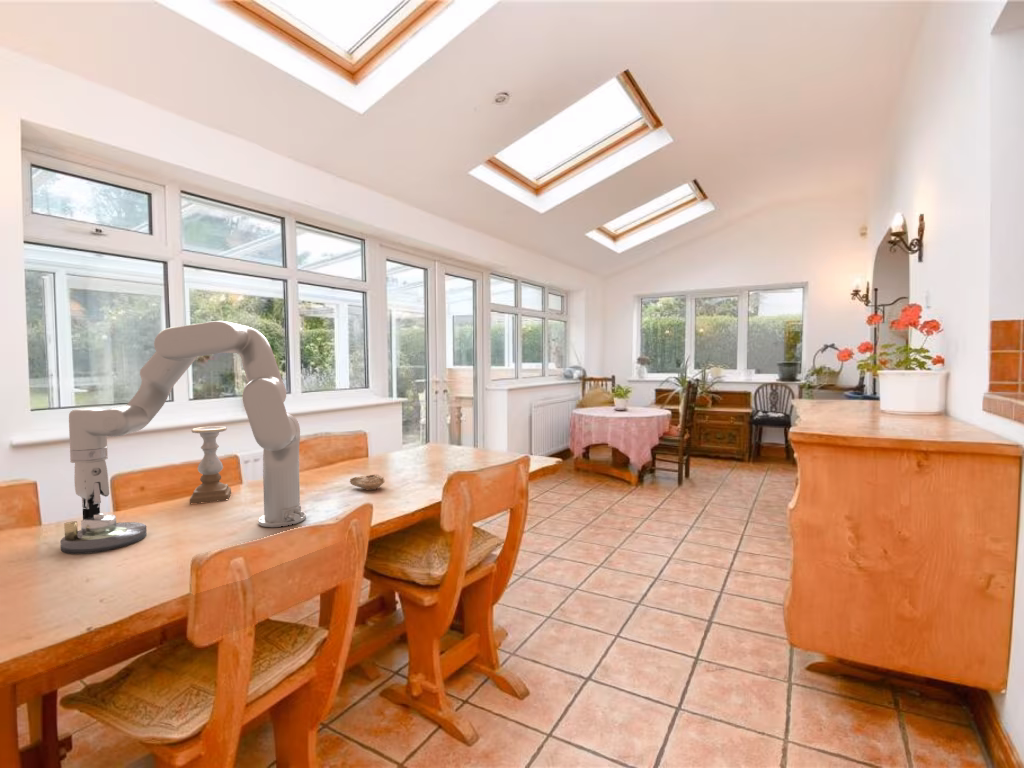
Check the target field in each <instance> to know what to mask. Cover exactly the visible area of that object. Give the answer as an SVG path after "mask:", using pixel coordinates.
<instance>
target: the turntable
mask: <svg viewBox="0 0 1024 768" xmlns="http://www.w3.org/2000/svg"><path fill="white" fill-rule="evenodd" d="M63 525H64V527H63V528H64V536H63V537H62V538H61V539H60V551H61V552H63V553H65V554H72V555H81V554H92V553H93V554H94V553H101V552H105V551H110V550H115V549H119V548H122V547H126V546H130V545H132V544H135V543H137V542H139V541H141V540H142V539H145V537H147V525H146V524H145V523H142V522H137V521H136V522H134V521H133V522H132V521H131V522H130V521H129V522H128V521H127V522H125V521H124V522H116V529H114V530H112V531H109V532H105V533H100V534H93V535H84V534H82V531H81V529H80V530H78V521H76V520H73V521H68V522H67V521H66V522H65V523H63Z"/></svg>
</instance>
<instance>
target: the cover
mask: <svg viewBox="0 0 1024 768" xmlns="http://www.w3.org/2000/svg"><path fill="white" fill-rule="evenodd" d="M80 522H81V523H80V525H81V526H80V530H81V531H82V534H84V535H93V534H100V533H105V532H109V531H112V530H114V529H116V523H117V515H116V514H104V513H103V512H100V513H98V514H94V516H93V517H89V518H86V519H84V520H83V519H82V520H80Z"/></svg>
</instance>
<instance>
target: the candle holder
mask: <svg viewBox="0 0 1024 768" xmlns="http://www.w3.org/2000/svg"><path fill="white" fill-rule="evenodd" d="M227 430H228V428H227V426H221V425H220V426H218V425H216V426H214V425H213V426H212V425H211V426H200V427H196V428H195V427H194V428H192V429H191V430H190V432H191V433H192V434H193V433H194V434H199V435H200V437H201V439H202V441H203V443H202V445H201V446H200V449H201V450H202V452H203V457H202V458H201V460H200V463H198V466H197V471H198V472H199V473H200V474H202V475H201V476H200V482H201V484H200V485H198V486H196V488H195V489H194V490H193V492H192V494H191V496H190V497H189V504H190V505H192V504H191V503H197V504H202V503H201V502H207V503H211V502H210V501H217V500H226V499H228V500H229V499H230V497H231V495H232V487H230V486H229V484H228V483H223V482H221V481H220V480H222V476H221V474H220V472H221V471H222V470H223V469H224V465H223V462H222V461H221V459H220V458H219V457H218V455H217V450H218V448H219V447H220V446H219V445H218V443H217V441H216V440H217V437H218V436H219V435H220V433H222V432H226V431H227ZM230 494H231V495H230ZM229 496H230V497H229ZM226 501H227V500H226ZM217 502H218V501H217Z"/></svg>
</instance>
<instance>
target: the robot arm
mask: <svg viewBox="0 0 1024 768" xmlns="http://www.w3.org/2000/svg"><path fill="white" fill-rule="evenodd" d="M153 346H154V350H155V352H154V353H153V354H152V356H151V357H150V358H149V359H148V360H147V362H146V363H144V365H143V366H142V367H141V369H140V370H139V376H140V378H141V384H140V386H139V388H138V391H137V392H136V393H135V394H134V396H133V397H132V398H131V399H130V400H129V401H128V402H127V404H126V405H125V406H119V407H114V408H108V409H103V408H99V407H85V408H76V409H72V410H71V411H69V412H68V413H69V414H68V431H69V433H68V435H69V454H70V455H69V456H70V463H72V464H74V491H75V494H76V495H77V496H79V497H80V498H81V507H82V520H84V519H86V518H89V517H93V516H94V514H98V513H101V508H100V507H101V503H102V498H101V496H103V497H105V498H106V497H108V496H109V495H110V485H109V473H108V468H107V462H106V460H108V457H109V456H108V437H114V438H116V437H117V438H118V437H122V436H125V435H128V434H132V433H135V432H139V431H141V430H143V429H144V428H146V427H147V426H148V425H149V424H150V423H151V422H152V421H153V419H154V418H155V416H156V415H157V414H158V413H159V412H160V410H161V409H162V408H163V407H164V405H165V403H166V402H167V400H168V397H169V396H170V394H171V392H172V389H173V387H174V386H175V384H176V383H178V381H179V380H180V379H181V377H182V376H183V375H184V373H186V372H187V370H188V369H189V368H190V367H191V365H192V364H193V363H194V361H196V359H197V358H198V357H202V356H209V355H216V354H238V355H239V356H240V359H241V362H242V367H243V371H244V373H245V375H246V380H247V384H246V385H245V387H244V388H243V391H242V403H243V407H244V409H245V413H246V416H247V419H248V423H249V425H250V428H251V431H252V435H253V437H254V439H255V442H256V443H257V444H258V446H259V447H261V448H262V450H263V451H262V452H263V454H262V472H263V473H262V476H263V482H262V483H263V515H261V516H260V517H259V518H258V520H257V522H258V525H259V526H261V527H264V528H265V527H266V528H282V527H281V526H283V527H287V526H288V525H289V526H292V524H293V525H295V524H299V523H301V522H303V521H305V519H306V518H307V513H306V512H304V511H302V505H301V494H300V493H301V492H300V441H301V440H300V439H301V429H300V428H301V427H300V424H299V421H298V420H297V418H296V417H295V416H294V415H293V414H290V413H288V412H287V410H286V407H285V403H284V402H285V401H286V400H287V399H286V398H287V389H286V386H285V384H284V381H283V378H282V375H281V372H280V369H279V365H278V363H277V360H276V358H275V354H274V352H273V349H272V346H271V344H270V342H269V340H268V339H267V338H266V337H265V335H263V333H261V332H260V331H259V330H257V329H255V328H253V327H250V326H248V325H243V324H239V323H235V322H232V321H231V322H229V321H225V320H224V321H223V320H214V321H207V322H201V323H199V322H198V323H194V324H186V325H179V326H173V327H167V328H165V329H163V330H161V331H159V333H158V334H157V335H156V336H155V338H154V341H153Z"/></svg>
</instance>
